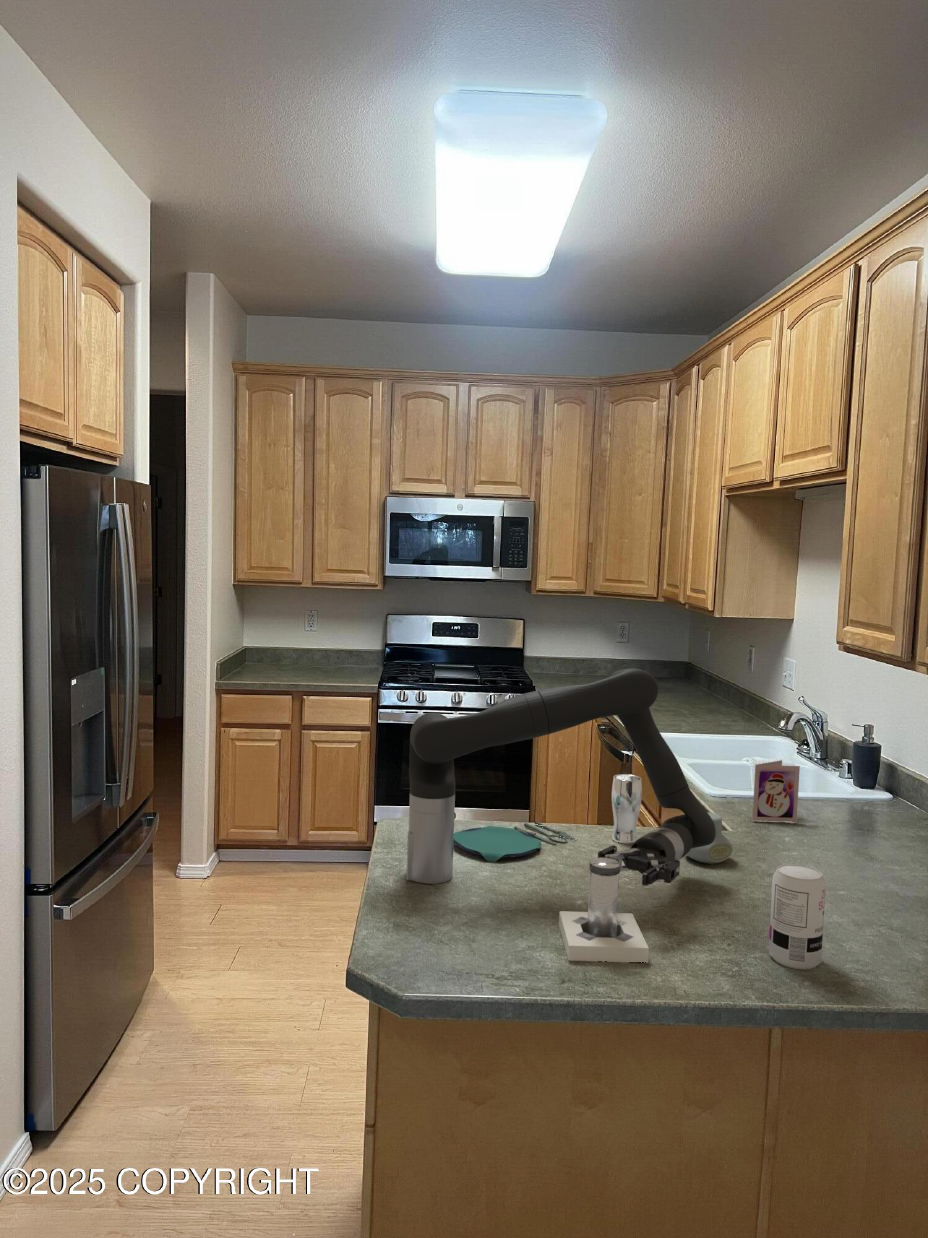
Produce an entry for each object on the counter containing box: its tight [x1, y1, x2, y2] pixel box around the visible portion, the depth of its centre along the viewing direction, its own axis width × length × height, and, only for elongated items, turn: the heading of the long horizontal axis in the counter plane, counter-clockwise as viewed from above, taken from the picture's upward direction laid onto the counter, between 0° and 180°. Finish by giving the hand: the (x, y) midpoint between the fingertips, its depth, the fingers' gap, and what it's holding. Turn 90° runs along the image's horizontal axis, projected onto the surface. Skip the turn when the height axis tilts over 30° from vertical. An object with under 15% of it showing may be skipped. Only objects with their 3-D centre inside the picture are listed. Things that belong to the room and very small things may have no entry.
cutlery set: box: [453, 820, 577, 863], centre depth 199 cm, size 20×30×2 cm, turn 127°
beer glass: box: [611, 773, 643, 845], centre depth 204 cm, size 7×7×15 cm
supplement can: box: [768, 863, 827, 970], centre depth 143 cm, size 8×8×15 cm
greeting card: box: [752, 759, 801, 823], centre depth 225 cm, size 11×7×15 cm, turn 90°
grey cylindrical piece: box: [587, 857, 621, 938], centre depth 147 cm, size 5×5×14 cm
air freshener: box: [686, 811, 734, 865], centre depth 192 cm, size 11×8×10 cm
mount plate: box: [558, 910, 650, 964], centre depth 148 cm, size 13×14×2 cm
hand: (621, 874), depth 153 cm, fingers open, 8 cm apart
